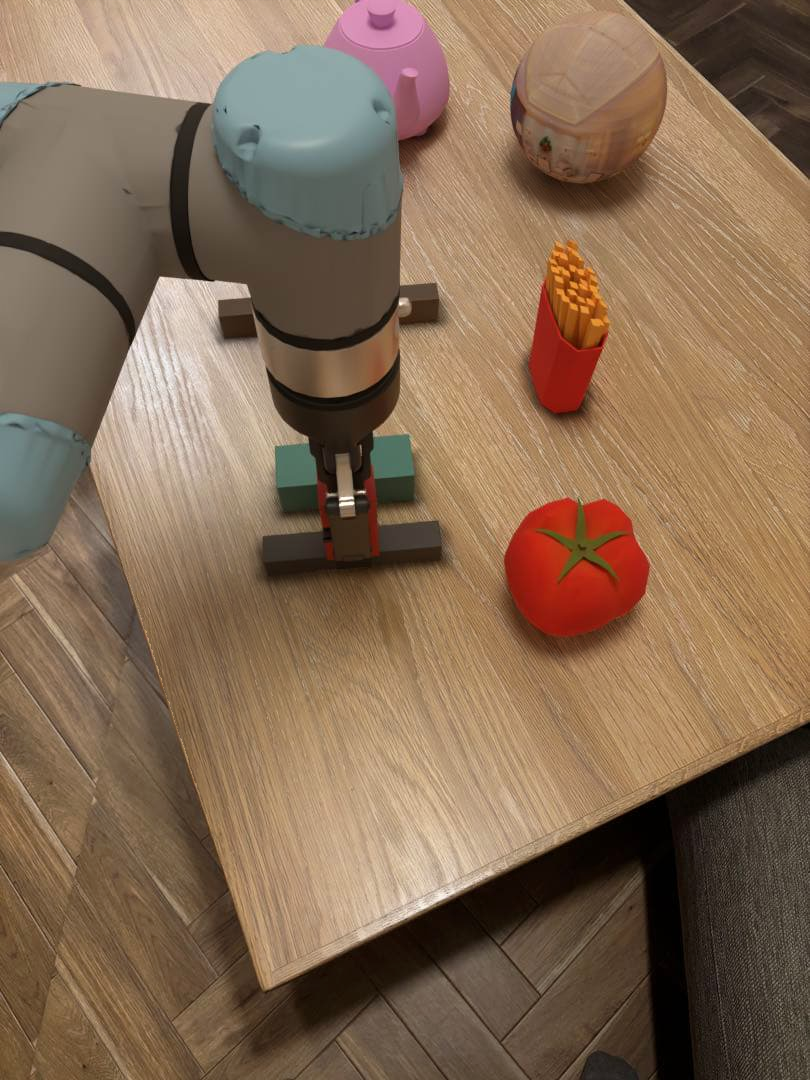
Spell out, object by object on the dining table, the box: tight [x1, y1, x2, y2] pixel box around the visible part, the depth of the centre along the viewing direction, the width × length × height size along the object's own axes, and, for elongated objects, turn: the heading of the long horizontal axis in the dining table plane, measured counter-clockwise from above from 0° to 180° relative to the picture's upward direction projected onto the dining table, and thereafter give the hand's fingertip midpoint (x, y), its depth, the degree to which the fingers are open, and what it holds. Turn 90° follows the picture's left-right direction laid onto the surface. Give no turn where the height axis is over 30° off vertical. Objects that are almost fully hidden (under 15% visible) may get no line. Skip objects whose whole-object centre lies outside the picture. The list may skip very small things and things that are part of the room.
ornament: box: [509, 10, 668, 184], centre depth 84 cm, size 15×15×15 cm
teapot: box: [322, 0, 451, 142], centre depth 89 cm, size 20×14×12 cm
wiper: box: [262, 465, 443, 576], centre depth 65 cm, size 3×14×11 cm, turn 96°
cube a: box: [274, 442, 319, 513], centre depth 71 cm, size 4×4×4 cm
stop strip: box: [217, 282, 440, 340], centre depth 80 cm, size 2×20×3 cm, turn 97°
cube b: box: [361, 433, 416, 504], centre depth 71 cm, size 4×4×4 cm
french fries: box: [528, 238, 611, 414], centre depth 72 cm, size 9×4×13 cm, turn 11°
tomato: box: [503, 496, 651, 638], centre depth 65 cm, size 11×11×9 cm
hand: (352, 543), depth 68 cm, fingers closed on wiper, 3 cm apart
